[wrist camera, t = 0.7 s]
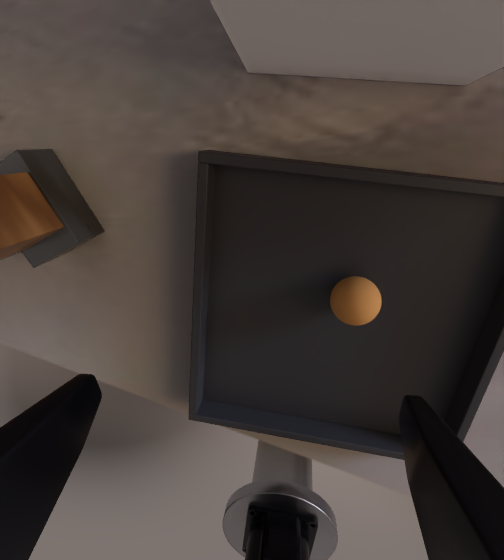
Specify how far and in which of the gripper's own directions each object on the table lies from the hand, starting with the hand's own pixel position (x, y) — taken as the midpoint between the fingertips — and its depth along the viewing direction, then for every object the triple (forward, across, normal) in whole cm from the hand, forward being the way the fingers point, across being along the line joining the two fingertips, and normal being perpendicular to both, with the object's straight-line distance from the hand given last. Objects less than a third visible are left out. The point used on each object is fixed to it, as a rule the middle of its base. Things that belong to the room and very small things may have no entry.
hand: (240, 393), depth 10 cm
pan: (+13, -4, +7) cm, 15 cm away
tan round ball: (+11, -5, +4) cm, 13 cm away
